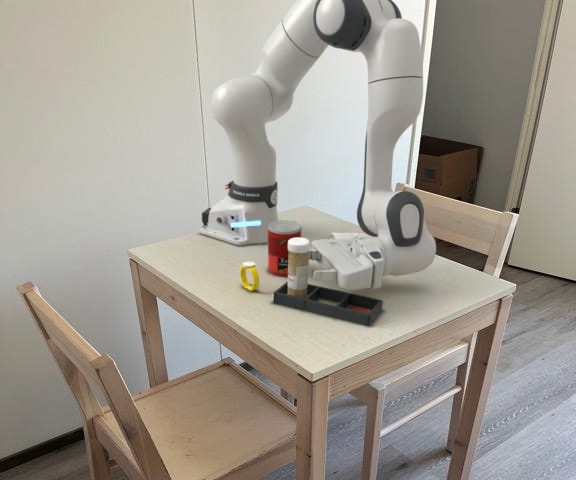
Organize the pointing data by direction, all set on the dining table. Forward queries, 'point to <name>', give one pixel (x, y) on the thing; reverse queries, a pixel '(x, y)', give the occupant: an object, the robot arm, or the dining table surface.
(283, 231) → the canned food
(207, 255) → the dining table surface
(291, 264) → the sprinkles bottle
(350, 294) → the compartment tray
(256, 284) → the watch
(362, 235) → the white cup
